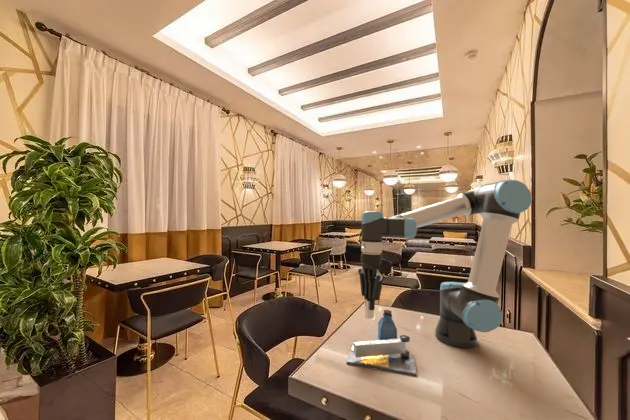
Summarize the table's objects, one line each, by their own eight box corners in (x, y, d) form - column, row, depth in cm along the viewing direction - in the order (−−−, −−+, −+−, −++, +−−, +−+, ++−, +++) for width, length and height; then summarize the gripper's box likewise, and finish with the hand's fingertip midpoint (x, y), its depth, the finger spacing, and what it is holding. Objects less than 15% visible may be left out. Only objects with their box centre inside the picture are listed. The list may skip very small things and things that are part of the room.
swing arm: (406, 348, 94) (406, 334, 94) (411, 353, 91) (411, 338, 91) (353, 353, 90) (353, 338, 90) (356, 358, 87) (356, 342, 87)
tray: (413, 356, 93) (413, 350, 93) (416, 376, 81) (416, 369, 81) (351, 346, 99) (351, 341, 99) (346, 363, 87) (346, 357, 87)
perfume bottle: (393, 338, 107) (393, 308, 107) (396, 345, 101) (397, 314, 101) (378, 337, 107) (378, 308, 108) (380, 344, 101) (380, 313, 102)
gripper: (353, 250, 100) (351, 312, 100) (373, 256, 89) (371, 326, 88) (369, 250, 103) (367, 310, 103) (391, 255, 92) (389, 323, 91)
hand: (369, 317), depth 95 cm, fingers closed
